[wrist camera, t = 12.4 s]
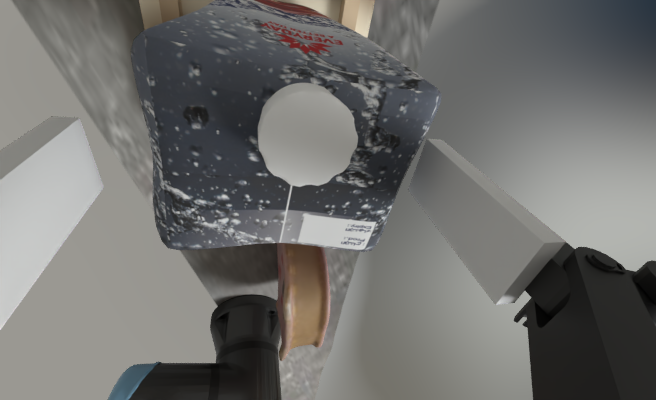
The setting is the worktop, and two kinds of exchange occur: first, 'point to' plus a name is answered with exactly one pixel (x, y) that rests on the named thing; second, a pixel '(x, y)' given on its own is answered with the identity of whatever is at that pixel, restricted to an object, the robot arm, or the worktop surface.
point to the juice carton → (275, 127)
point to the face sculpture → (302, 295)
